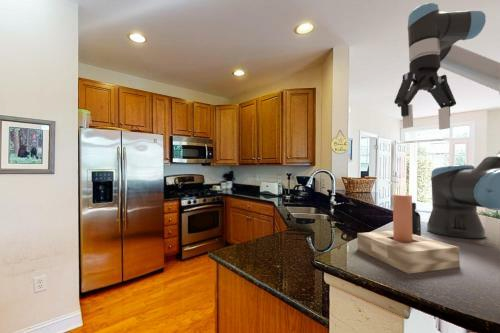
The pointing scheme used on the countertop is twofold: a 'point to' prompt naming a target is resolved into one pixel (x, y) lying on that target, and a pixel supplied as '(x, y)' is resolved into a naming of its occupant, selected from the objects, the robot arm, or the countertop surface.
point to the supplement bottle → (415, 221)
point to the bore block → (409, 252)
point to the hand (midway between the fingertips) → (426, 128)
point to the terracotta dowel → (402, 218)
